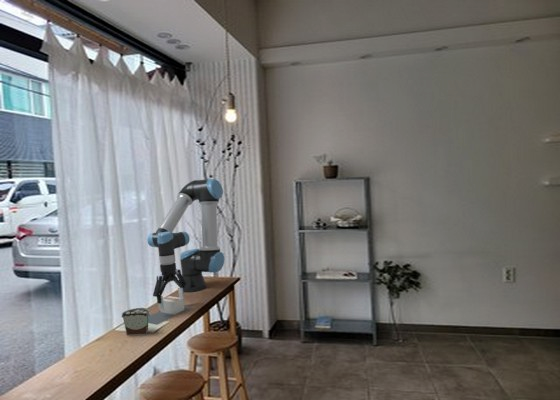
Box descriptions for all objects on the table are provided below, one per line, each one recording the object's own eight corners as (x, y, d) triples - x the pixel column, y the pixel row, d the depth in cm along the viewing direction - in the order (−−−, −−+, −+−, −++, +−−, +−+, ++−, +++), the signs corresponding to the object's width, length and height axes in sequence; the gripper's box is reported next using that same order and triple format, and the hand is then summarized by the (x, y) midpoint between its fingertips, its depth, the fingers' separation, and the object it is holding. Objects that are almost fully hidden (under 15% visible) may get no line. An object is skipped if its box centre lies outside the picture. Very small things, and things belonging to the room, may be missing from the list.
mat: (174, 304, 207) (174, 304, 207) (193, 307, 200) (193, 306, 200) (138, 321, 186) (137, 320, 186) (157, 325, 180) (157, 324, 179)
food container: (156, 328, 176) (153, 306, 175) (150, 334, 170) (148, 311, 169) (130, 329, 177) (127, 308, 177) (123, 335, 171) (121, 313, 170)
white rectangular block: (160, 311, 196) (159, 299, 196) (170, 307, 202) (169, 295, 201) (175, 314, 191) (173, 302, 191) (184, 309, 197) (183, 297, 196)
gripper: (180, 257, 207) (184, 296, 209) (142, 269, 186) (147, 312, 187) (190, 257, 203) (194, 297, 205) (153, 270, 182) (158, 314, 184)
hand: (171, 304), depth 196 cm, fingers open, 13 cm apart
